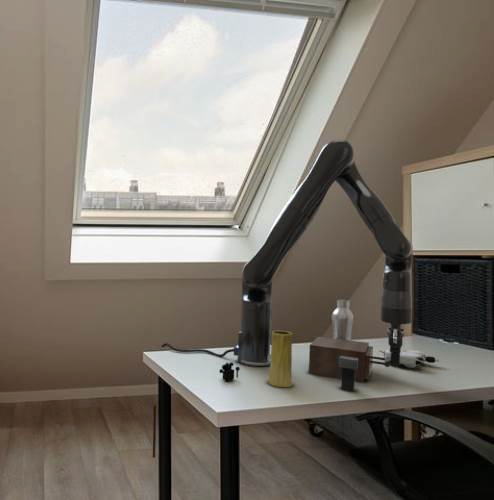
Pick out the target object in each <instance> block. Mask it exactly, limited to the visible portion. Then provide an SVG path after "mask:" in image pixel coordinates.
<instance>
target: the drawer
mask: <svg viewBox="0 0 494 500" xmlns="http://www.w3.org/2000/svg"><path fill="white" fill-rule="evenodd" d="M376 360H379V361H376ZM383 361H384V362H383ZM373 364H374V365H383V366H384V367H386V368H390V367H391V358H390V357H386V358H384V357H381V356H374V346H371V345H369V347H368V349H367V352H366V354H365V370H364V379H365V380H370V378H371V374H372V371H373Z"/></svg>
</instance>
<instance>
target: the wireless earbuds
mask: <svg viewBox="0 0 494 500" xmlns="http://www.w3.org/2000/svg"><path fill="white" fill-rule="evenodd" d="M233 366H234V363H233V361H231V362H226V363H225V364H223V365H222V366H221V368H220V369H219V373H220V374H222V381H224V382H230V381H233V380H234V379H235V378H237V379H238V378H239V371H240V370H241V368H240V367H239V366H236V367H235V369H233ZM235 371H236V374H235ZM235 376H236V377H235Z"/></svg>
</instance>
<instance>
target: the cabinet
mask: <svg viewBox="0 0 494 500" xmlns="http://www.w3.org/2000/svg"><path fill="white" fill-rule="evenodd" d="M369 346H370V343H369V342H366V341H357V340H351V341H350V340H342V339H334V338H333V337H324V336H317V337H316V338H315V339H314V340H313V341H312V342H311V343H310V344H309V356H308V357H309V358H308V374H310V375H315V376H321V377H326V378H328V377H329V378H332V379H333V378H334V379H339V380H341V379H342V367H339V358H340V356H345V357H353V358H359V360H358V369H355V382H359V383H365V381H366V379H364V370H365V354H366V352H367V349H368V347H369Z"/></svg>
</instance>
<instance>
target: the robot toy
mask: <svg viewBox="0 0 494 500" xmlns="http://www.w3.org/2000/svg"><path fill="white" fill-rule="evenodd" d="M378 352H379V353H382V354H383V358H386V357H390V358H391V353H390V349H386V350H384V351H382V350H381V349H378ZM438 362H440V359H439V358H435V357H434V356H429V355H428V356H426V353H424V352H423V351H419V350H413V349H409V350H401V353H400V365H404V367H406V368H408V369H414V368H416V367H417V366H422V365H424V363H429V364H435V363H438Z"/></svg>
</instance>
